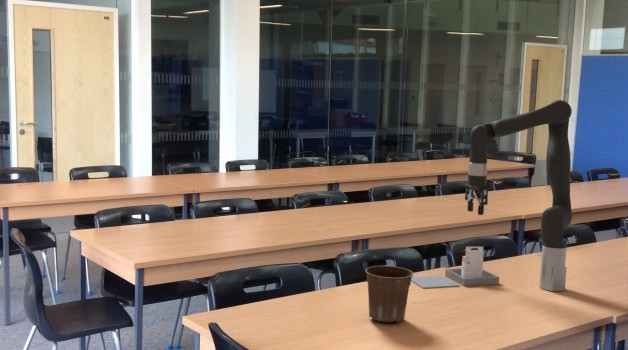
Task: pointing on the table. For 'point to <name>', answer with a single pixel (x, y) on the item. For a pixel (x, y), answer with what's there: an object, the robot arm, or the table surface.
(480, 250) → the ink box
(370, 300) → the plant pot
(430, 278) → the slate mat
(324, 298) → the table surface
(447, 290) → the table surface
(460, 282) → the desk holder
